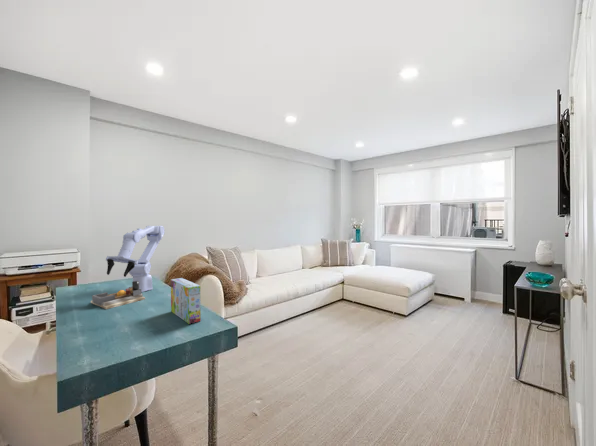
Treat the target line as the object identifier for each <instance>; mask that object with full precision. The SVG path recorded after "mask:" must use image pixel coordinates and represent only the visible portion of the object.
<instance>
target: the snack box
mask: <svg viewBox="0 0 596 446" xmlns="http://www.w3.org/2000/svg"><path fill="white" fill-rule="evenodd" d="M201 304H202V302H201V285H199V284H198V283H196V282H195V283H194V282H193V281H190V280H187V279H185V278H183V277H179V278H173V279H170V308H171V309H170V312H172V314H174V315H175V316H176V317H179V318H180V319H181V320H183V321H184V322H185V323H187V324H188V325H191V323H192V324H195V322H196V323H200V322H201V321H202V320H201V319H202V318H201V315H202V314H201V313H202V312H201V308H202V307H201ZM199 321H200V322H199Z"/></svg>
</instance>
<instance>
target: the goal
mask: <svg viewBox="0 0 596 446" xmlns="http://www.w3.org/2000/svg"><path fill="white" fill-rule="evenodd" d="M108 295H109V294H108V292H103V293H98V294H93V295H92V294H91V301H92V302H93V303H95V304H98V305H103V303H104V302H108V301H112V300H115V295H111V296H108ZM95 304H94V305H95Z"/></svg>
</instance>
